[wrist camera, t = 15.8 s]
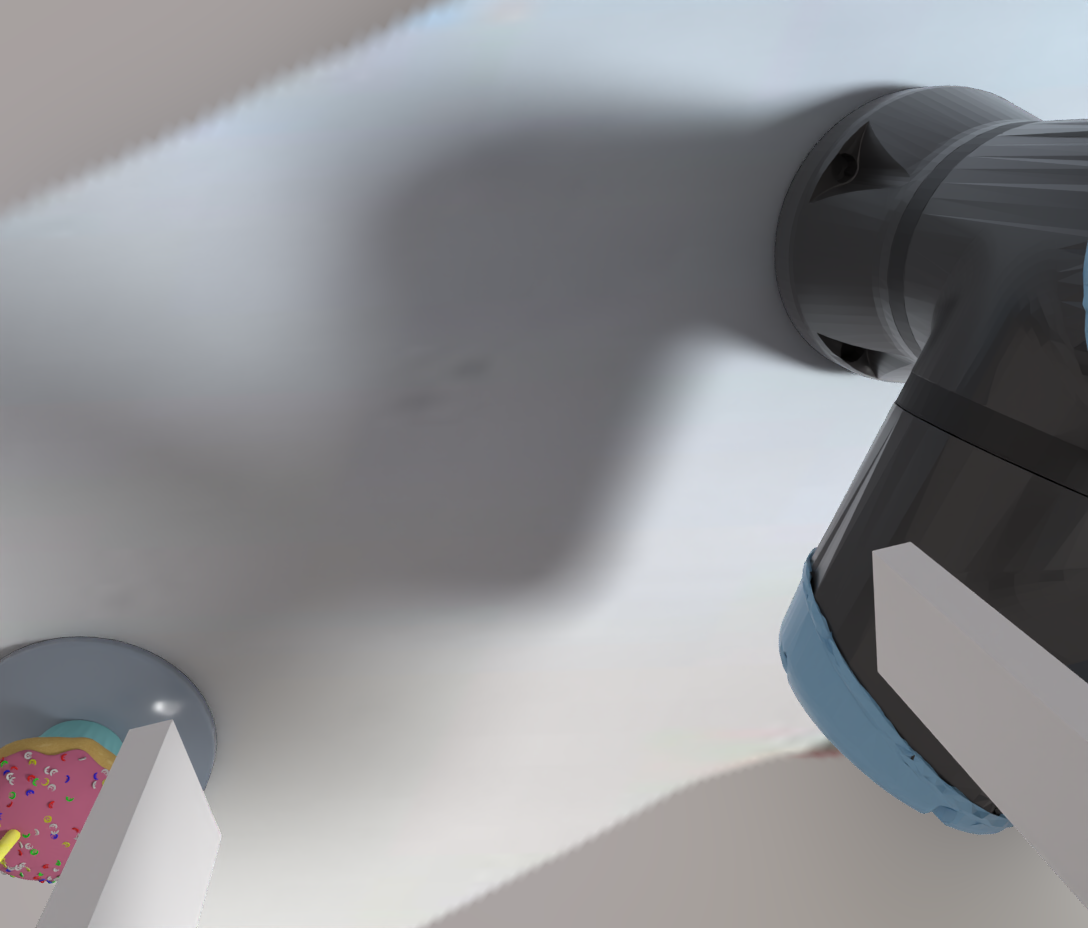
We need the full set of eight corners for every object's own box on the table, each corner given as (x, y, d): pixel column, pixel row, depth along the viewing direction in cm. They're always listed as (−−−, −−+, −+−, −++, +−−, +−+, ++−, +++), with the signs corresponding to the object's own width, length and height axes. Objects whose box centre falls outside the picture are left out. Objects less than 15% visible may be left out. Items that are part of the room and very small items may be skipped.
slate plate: (23, 596, 47) (14, 607, 46) (259, 700, 51) (256, 712, 50) (-82, 782, 50) (-94, 796, 49) (150, 865, 54) (144, 880, 53)
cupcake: (-22, 782, 49) (-146, 971, 38) (35, 667, 47) (-79, 830, 36) (128, 830, 52) (52, 1019, 41) (187, 722, 50) (125, 890, 39)
